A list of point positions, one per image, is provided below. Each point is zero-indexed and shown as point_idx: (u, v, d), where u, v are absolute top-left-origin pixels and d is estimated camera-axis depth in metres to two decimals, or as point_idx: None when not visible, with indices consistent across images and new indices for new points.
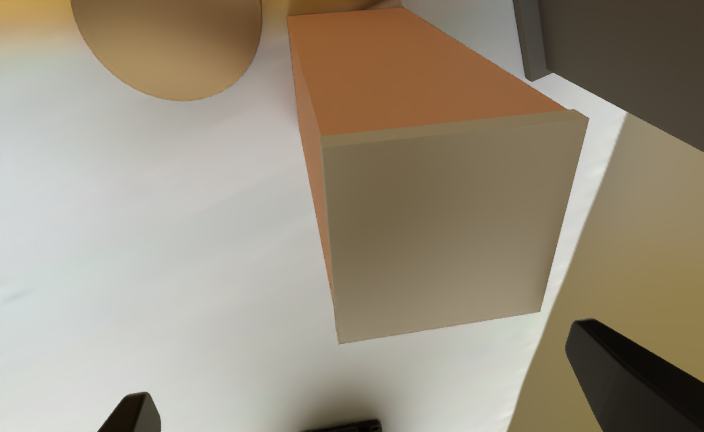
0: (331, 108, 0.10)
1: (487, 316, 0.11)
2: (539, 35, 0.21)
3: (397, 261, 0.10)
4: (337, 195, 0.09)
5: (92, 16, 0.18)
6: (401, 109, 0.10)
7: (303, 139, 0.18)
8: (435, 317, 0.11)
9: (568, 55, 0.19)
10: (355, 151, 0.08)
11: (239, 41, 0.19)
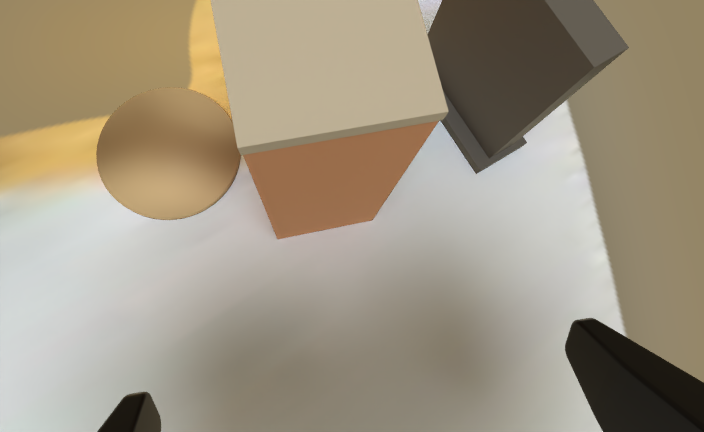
0: None
1: (391, 116, 0.11)
2: (469, 133, 0.25)
3: (279, 50, 0.11)
4: None
5: (110, 158, 0.23)
6: None
7: None
8: (334, 115, 0.11)
9: (491, 124, 0.23)
10: None
11: (221, 164, 0.24)
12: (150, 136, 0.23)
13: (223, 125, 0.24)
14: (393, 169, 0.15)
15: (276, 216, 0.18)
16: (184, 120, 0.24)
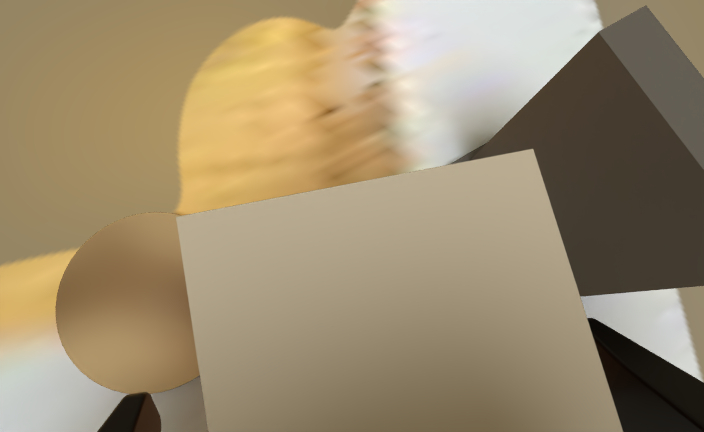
0: None
1: None
2: None
3: (324, 413, 0.06)
4: (204, 289, 0.06)
5: (73, 313, 0.18)
6: None
7: None
8: None
9: (571, 267, 0.18)
10: (223, 219, 0.06)
11: None
12: (126, 280, 0.18)
13: None
14: None
15: None
16: (171, 257, 0.18)
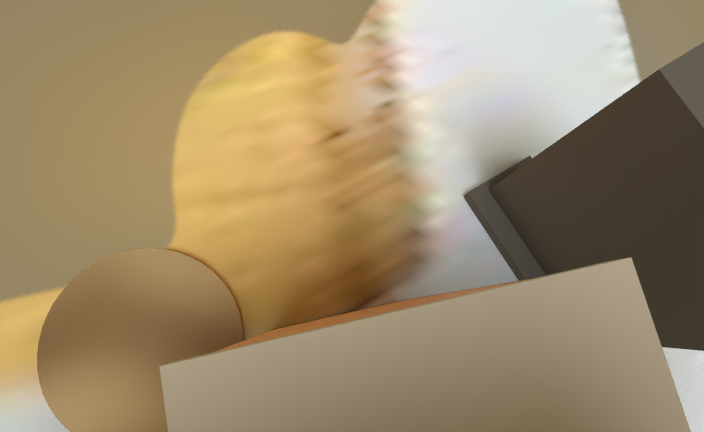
0: None
1: None
2: None
3: None
4: None
5: (57, 361, 0.16)
6: None
7: None
8: None
9: None
10: (224, 367, 0.04)
11: None
12: (115, 324, 0.16)
13: (219, 303, 0.17)
14: None
15: None
16: (165, 298, 0.17)
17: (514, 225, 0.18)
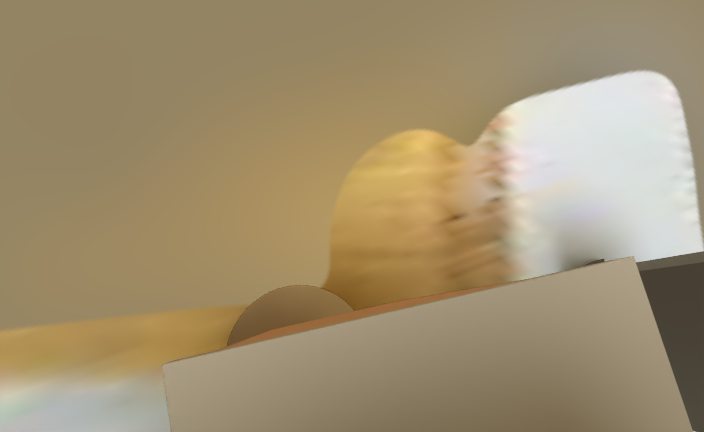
0: None
1: None
2: None
3: None
4: None
5: None
6: None
7: None
8: None
9: None
10: (226, 366, 0.04)
11: None
12: None
13: None
14: None
15: None
16: None
17: None
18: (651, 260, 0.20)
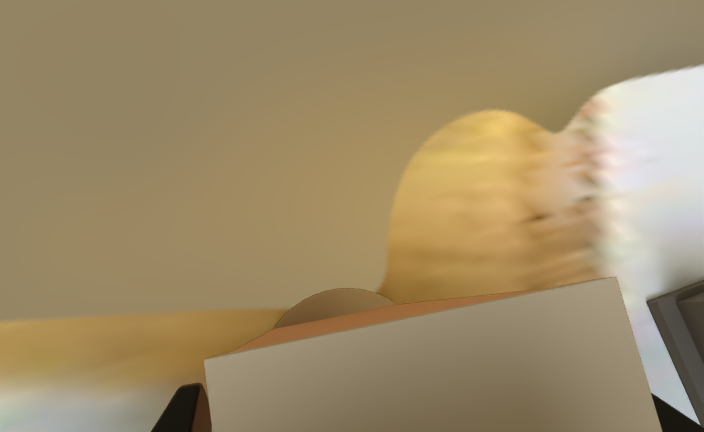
0: (259, 345, 0.07)
1: None
2: None
3: None
4: None
5: None
6: (352, 327, 0.07)
7: None
8: None
9: None
10: (259, 362, 0.05)
11: None
12: None
13: None
14: None
15: None
16: None
17: (696, 342, 0.19)
18: None
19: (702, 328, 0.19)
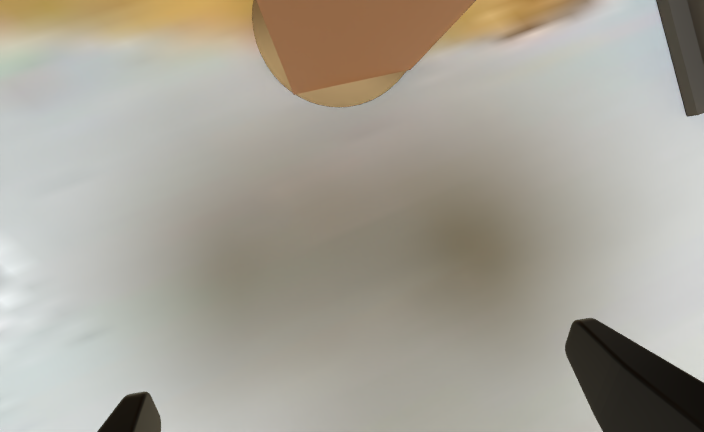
0: None
1: None
2: (700, 65, 0.20)
3: None
4: None
5: None
6: None
7: None
8: None
9: None
10: None
11: None
12: None
13: None
14: None
15: (293, 66, 0.14)
16: None
17: None
18: None
19: None
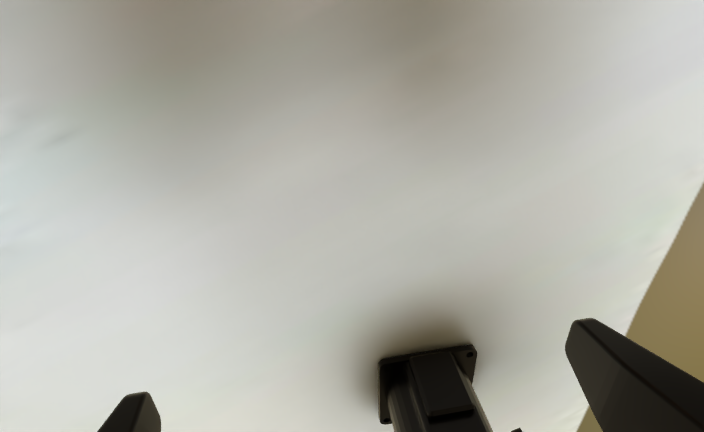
0: None
1: None
2: None
3: None
4: None
5: None
6: None
7: None
8: None
9: None
10: None
11: None
12: None
13: None
14: None
15: None
16: None
17: None
18: None
19: None
